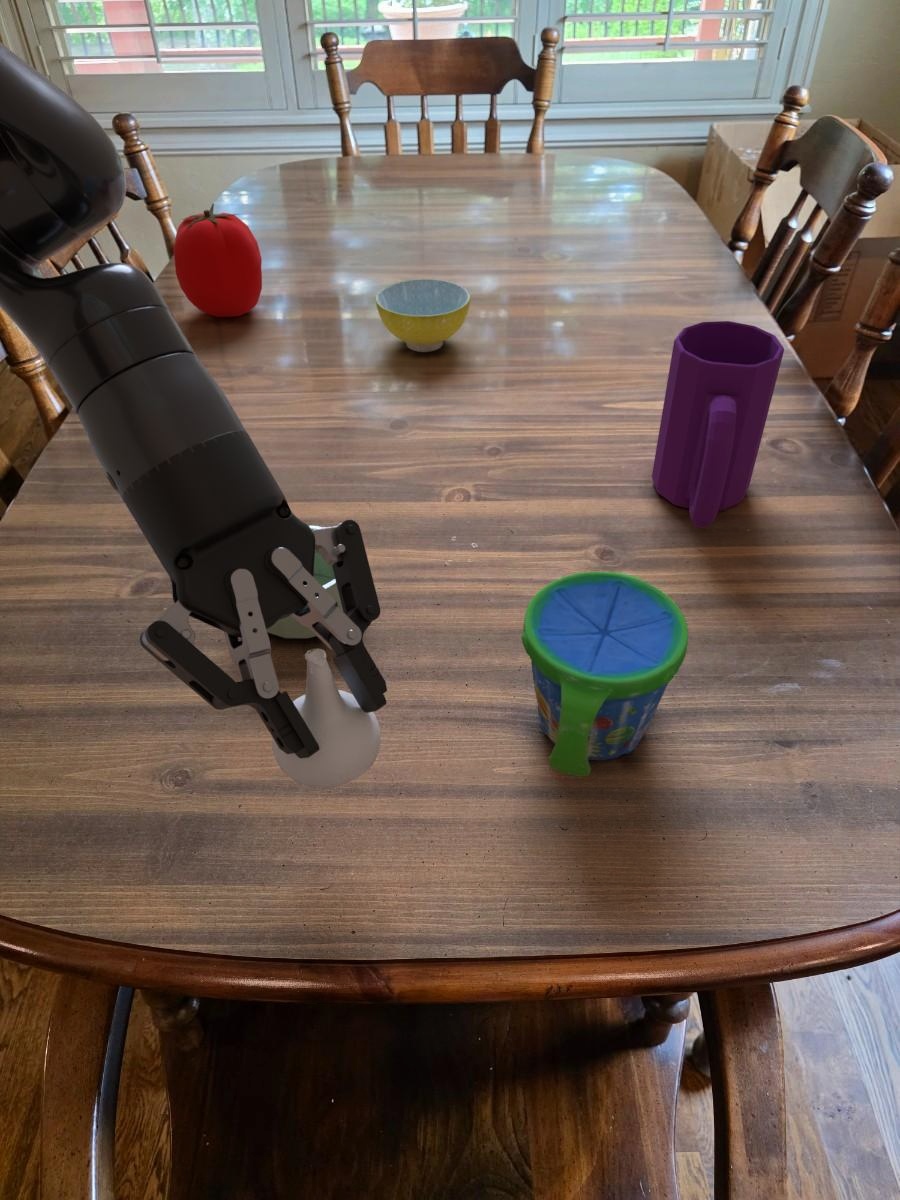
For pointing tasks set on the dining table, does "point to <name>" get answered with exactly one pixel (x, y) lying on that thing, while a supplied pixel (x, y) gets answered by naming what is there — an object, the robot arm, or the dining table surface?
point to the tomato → (218, 263)
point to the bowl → (423, 311)
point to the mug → (714, 415)
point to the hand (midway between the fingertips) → (343, 729)
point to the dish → (327, 579)
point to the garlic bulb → (331, 731)
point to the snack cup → (600, 662)
